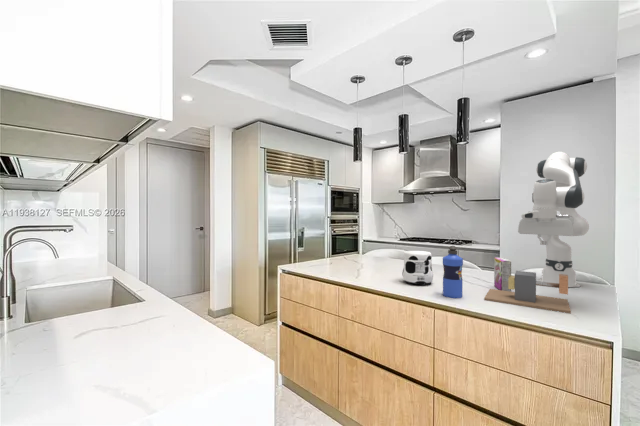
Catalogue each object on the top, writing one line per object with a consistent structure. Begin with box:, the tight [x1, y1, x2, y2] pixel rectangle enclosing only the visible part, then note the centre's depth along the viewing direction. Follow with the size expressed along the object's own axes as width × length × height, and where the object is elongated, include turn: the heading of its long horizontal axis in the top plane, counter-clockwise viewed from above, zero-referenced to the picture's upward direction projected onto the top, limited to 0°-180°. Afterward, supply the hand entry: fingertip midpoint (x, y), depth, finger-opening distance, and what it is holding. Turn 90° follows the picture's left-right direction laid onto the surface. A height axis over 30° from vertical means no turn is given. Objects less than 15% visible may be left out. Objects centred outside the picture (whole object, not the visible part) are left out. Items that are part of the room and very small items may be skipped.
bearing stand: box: [483, 270, 572, 314], centre depth 144 cm, size 20×32×13 cm, turn 54°
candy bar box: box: [493, 256, 512, 292], centre depth 164 cm, size 11×5×16 cm, turn 168°
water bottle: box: [442, 245, 464, 299], centre depth 152 cm, size 9×9×25 cm
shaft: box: [503, 274, 569, 295], centre depth 142 cm, size 4×24×8 cm, turn 54°
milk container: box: [401, 250, 434, 285], centre depth 179 cm, size 17×17×18 cm
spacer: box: [508, 274, 515, 291], centre depth 147 cm, size 6×2×6 cm, turn 144°
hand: (544, 244), depth 139 cm, fingers closed
